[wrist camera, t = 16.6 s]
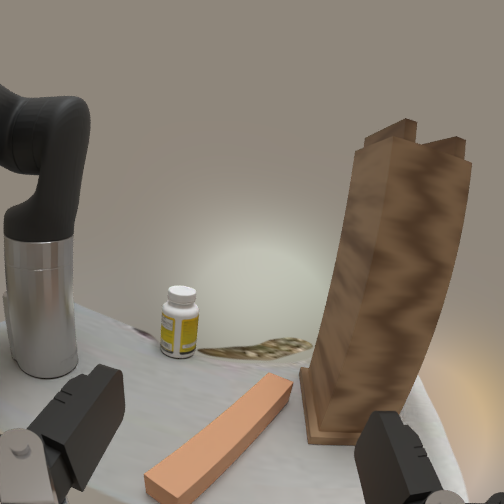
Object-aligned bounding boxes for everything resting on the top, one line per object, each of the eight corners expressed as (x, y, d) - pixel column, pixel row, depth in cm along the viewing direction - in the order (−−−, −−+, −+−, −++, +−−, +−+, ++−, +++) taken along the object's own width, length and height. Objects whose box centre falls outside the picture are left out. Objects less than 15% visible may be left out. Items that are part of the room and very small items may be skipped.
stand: (308, 443, 30) (388, 109, 23) (299, 373, 44) (347, 135, 37) (395, 444, 29) (486, 145, 23) (366, 379, 44) (422, 155, 37)
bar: (146, 494, 20) (143, 474, 19) (264, 393, 39) (268, 372, 38) (177, 516, 18) (177, 498, 18) (287, 403, 38) (293, 382, 37)
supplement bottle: (196, 344, 49) (203, 286, 47) (193, 361, 43) (199, 299, 41) (163, 338, 48) (167, 281, 46) (156, 355, 43) (159, 293, 41)
